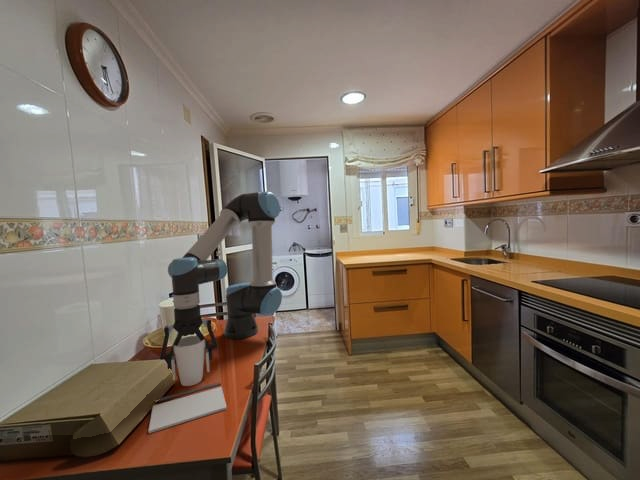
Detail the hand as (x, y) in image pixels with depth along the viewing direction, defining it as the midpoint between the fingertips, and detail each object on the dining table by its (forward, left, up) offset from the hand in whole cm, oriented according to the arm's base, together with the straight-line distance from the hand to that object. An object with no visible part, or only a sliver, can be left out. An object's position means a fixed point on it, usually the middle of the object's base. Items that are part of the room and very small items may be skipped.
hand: (191, 374), depth 90 cm
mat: (+1, +16, -2) cm, 16 cm away
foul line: (+1, +7, -2) cm, 7 cm away
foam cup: (0, 0, -2) cm, 2 cm away
